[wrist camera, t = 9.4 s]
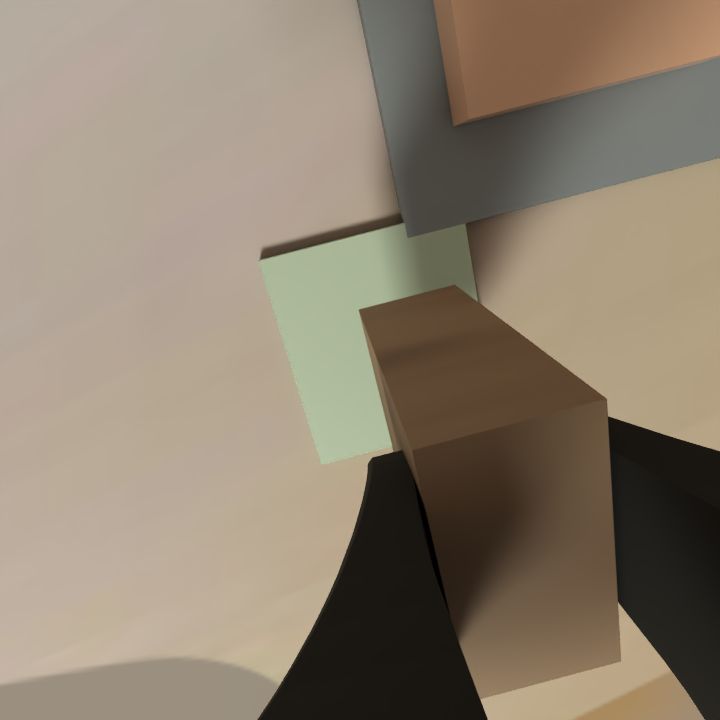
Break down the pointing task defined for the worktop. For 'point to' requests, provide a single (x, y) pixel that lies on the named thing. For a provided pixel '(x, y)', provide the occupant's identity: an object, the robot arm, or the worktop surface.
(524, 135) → the mat
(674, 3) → the tile
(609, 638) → the walnut block
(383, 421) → the rest pad
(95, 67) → the worktop surface
